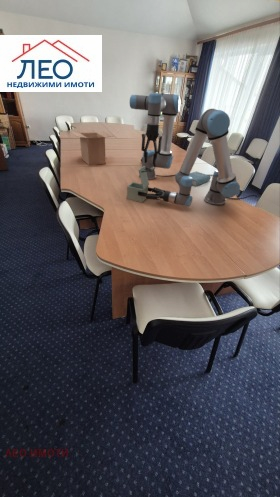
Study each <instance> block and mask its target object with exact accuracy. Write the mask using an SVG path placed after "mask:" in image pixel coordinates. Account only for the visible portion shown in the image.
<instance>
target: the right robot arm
mask: <svg viewBox="0 0 280 497" xmlns="http://www.w3.org/2000/svg"><path fill="white" fill-rule="evenodd" d="M230 124H231V119H230V116H229V114H228V113H227V112H225V111H224V110H222V109H216V108H208V109H206V110H205V111H204V112H203V113H202V114H201V116H200V118H199V120H198V121H197V124H196V127H195V129H194V132H195V133H194V135H193V138H192V140H191V142H190V144H189V147H188V150H187V151H186V154H185V156H184V159H183V161H182V164H181V166H180V167H179V170H178V172H177V173H175V174H174V175H175V176H174V180H175V182H176V184H177V185H178V187H179V190H178V192H175V191H171V190H164V189H162V188H158V187H155V186H154V187H150V186H148V194H147V193H144V192H140V191H138V195H139V196H144V197H146V199H145V200H153V201H155V200H156V201H161V200H162V201H163V202H165V203H169V204H175V205H179V206H184V207H191V205H192V202H193V198H194V197H193V195H191V191H192V186H193V185H192V182H193V178H192V177H190V176H189V174H190V173H192V170H193V167H194V165H195V163H196V161H197V159H198V157H199V154H200V152H201V150H202V148H203V145H204V143H205V141H206V139H207V140H208V141H210V142H211V145H212V151H213V155H214V161H215V165H216V170H214V172H213V174H212V175H213V176H212V178H211V180H210V181H211V182H210V186H209V189H208V191H207V193H206V195H205V196H204V202H206V203H207V204H210V205H214V206H223V205H225V204H226V199H227V200H243V199H247V198H249V197H255V198H258V196H257V195H256V194H251V195H246V196H243V197H235V196H237V195H238V193H239V192H240V190H241V185H240V183H239V182H238V181H237V175H236V173H235V172H233V167H232V161H231V155H230V149H229V143H228V137H227V136H228V135H229V131H230V130H229V128H230Z"/></svg>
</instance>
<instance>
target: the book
mask: <svg viewBox="0 0 280 497" xmlns="http://www.w3.org/2000/svg"><path fill="white" fill-rule="evenodd" d="M208 175H209V174H205V173H202V172H199V171H192V172H190V174H189V176H190V177H192V178H193V182H192V186H194V187H197V186H199V185H202V184H205V183H208V182H209V181H211V176H208Z"/></svg>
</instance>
